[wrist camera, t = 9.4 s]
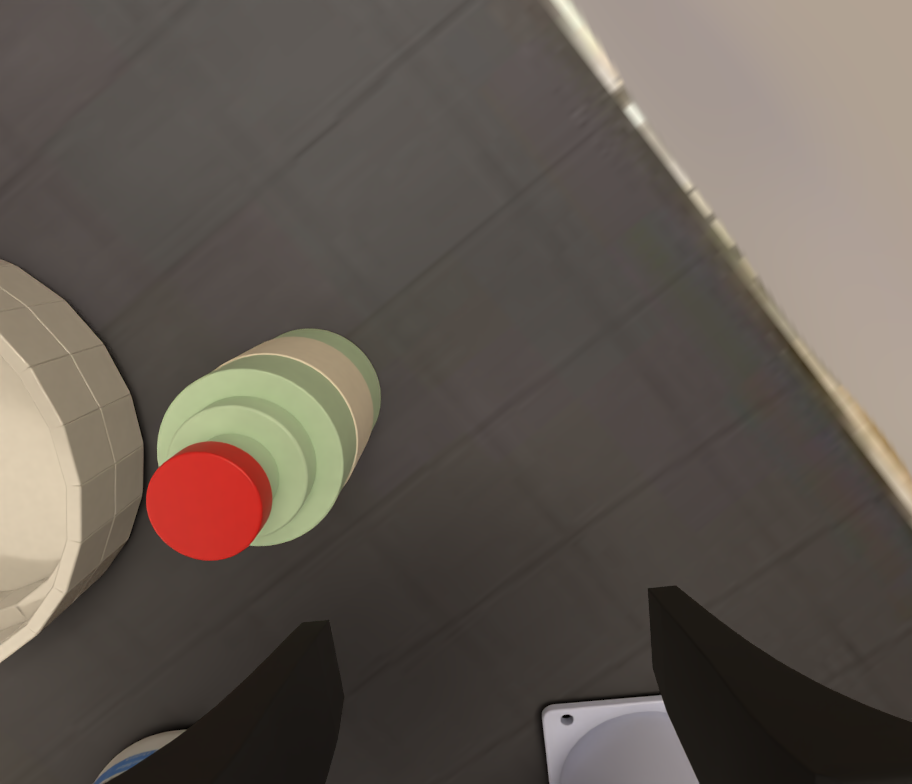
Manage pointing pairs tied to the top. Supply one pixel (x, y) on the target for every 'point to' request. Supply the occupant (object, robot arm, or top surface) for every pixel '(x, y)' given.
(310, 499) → the bottle
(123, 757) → the supplement tub
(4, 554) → the pan
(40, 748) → the top surface
